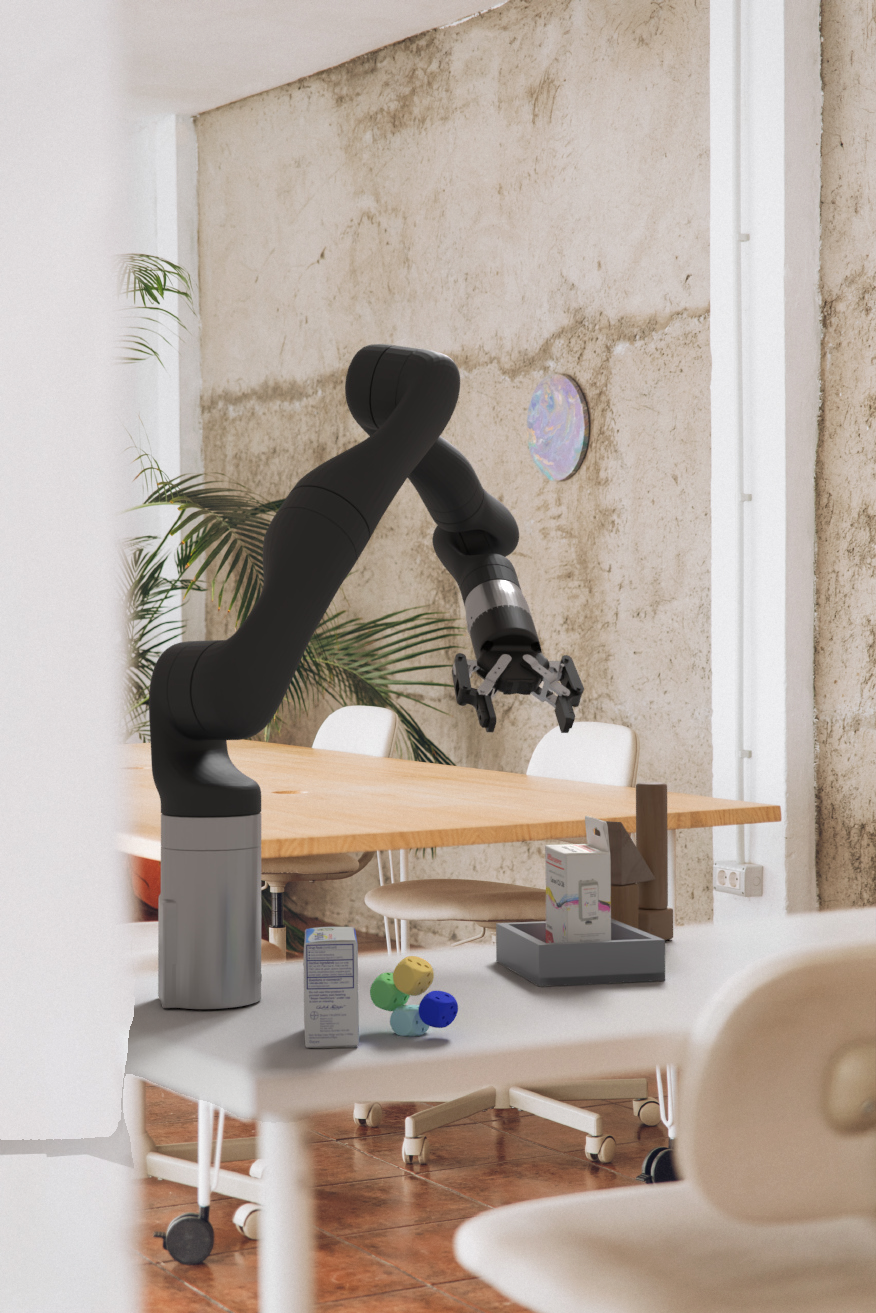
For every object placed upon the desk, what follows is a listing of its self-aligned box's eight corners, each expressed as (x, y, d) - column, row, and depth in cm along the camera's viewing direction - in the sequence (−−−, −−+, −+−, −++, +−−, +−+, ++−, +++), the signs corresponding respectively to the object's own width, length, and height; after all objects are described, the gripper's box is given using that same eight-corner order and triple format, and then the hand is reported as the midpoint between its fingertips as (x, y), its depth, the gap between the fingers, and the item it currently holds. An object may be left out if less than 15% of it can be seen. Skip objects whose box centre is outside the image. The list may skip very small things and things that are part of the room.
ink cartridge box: (542, 956, 167) (542, 815, 167) (588, 954, 168) (588, 814, 168) (565, 970, 159) (564, 821, 159) (613, 968, 160) (612, 821, 160)
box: (539, 986, 154) (538, 945, 154) (496, 961, 169) (496, 923, 169) (665, 980, 157) (664, 939, 158) (612, 955, 172) (612, 918, 172)
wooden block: (594, 947, 178) (593, 785, 178) (647, 936, 186) (647, 781, 186) (622, 951, 175) (621, 787, 176) (674, 939, 183) (674, 782, 184)
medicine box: (359, 1048, 128) (359, 940, 128) (303, 1049, 128) (303, 940, 128) (356, 1027, 136) (356, 925, 136) (303, 1028, 135) (303, 926, 136)
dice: (461, 1037, 132) (461, 959, 132) (442, 1042, 130) (442, 963, 130) (385, 1025, 137) (385, 950, 137) (366, 1030, 135) (366, 954, 135)
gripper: (447, 601, 181) (473, 702, 170) (567, 604, 185) (600, 703, 173) (436, 650, 186) (460, 751, 175) (552, 652, 190) (583, 751, 178)
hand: (529, 727), depth 174 cm, fingers open, 8 cm apart
